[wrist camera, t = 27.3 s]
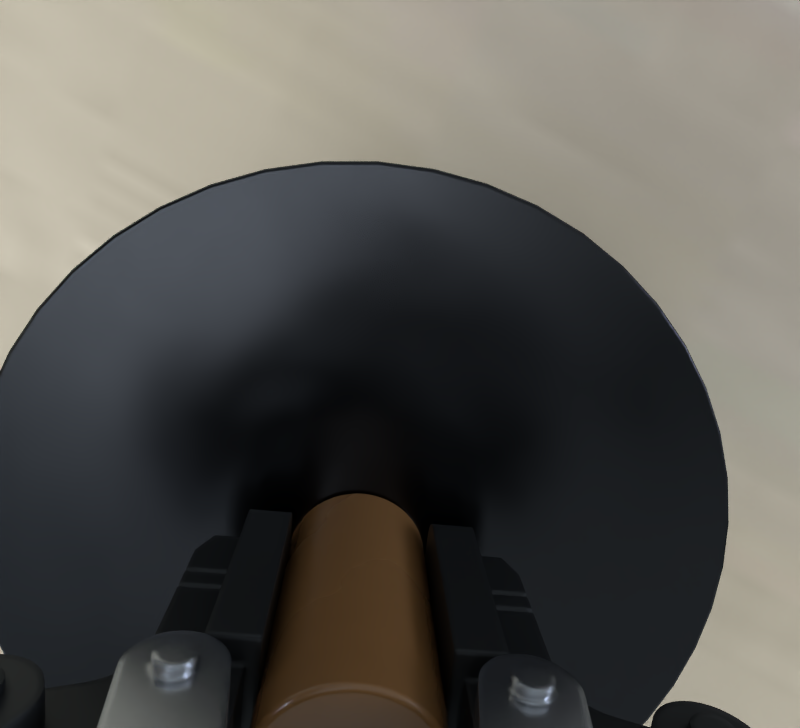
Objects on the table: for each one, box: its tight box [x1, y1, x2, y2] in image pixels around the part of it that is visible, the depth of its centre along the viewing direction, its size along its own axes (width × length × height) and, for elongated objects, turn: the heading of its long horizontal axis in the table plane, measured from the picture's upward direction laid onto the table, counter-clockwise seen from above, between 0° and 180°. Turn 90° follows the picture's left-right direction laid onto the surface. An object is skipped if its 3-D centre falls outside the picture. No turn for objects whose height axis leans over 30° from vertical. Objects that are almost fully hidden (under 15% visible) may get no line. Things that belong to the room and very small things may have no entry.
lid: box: [0, 161, 728, 728], centre depth 11 cm, size 14×14×6 cm
